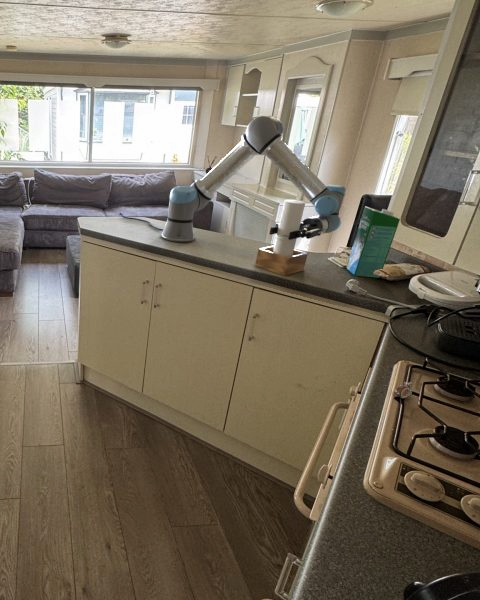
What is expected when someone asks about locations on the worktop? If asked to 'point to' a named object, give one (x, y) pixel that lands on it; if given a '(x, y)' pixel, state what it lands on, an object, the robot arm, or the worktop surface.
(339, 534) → the worktop surface
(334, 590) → the worktop surface
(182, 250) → the worktop surface
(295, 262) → the holder
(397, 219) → the milk carton
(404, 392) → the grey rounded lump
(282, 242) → the cylindrical container
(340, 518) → the worktop surface
